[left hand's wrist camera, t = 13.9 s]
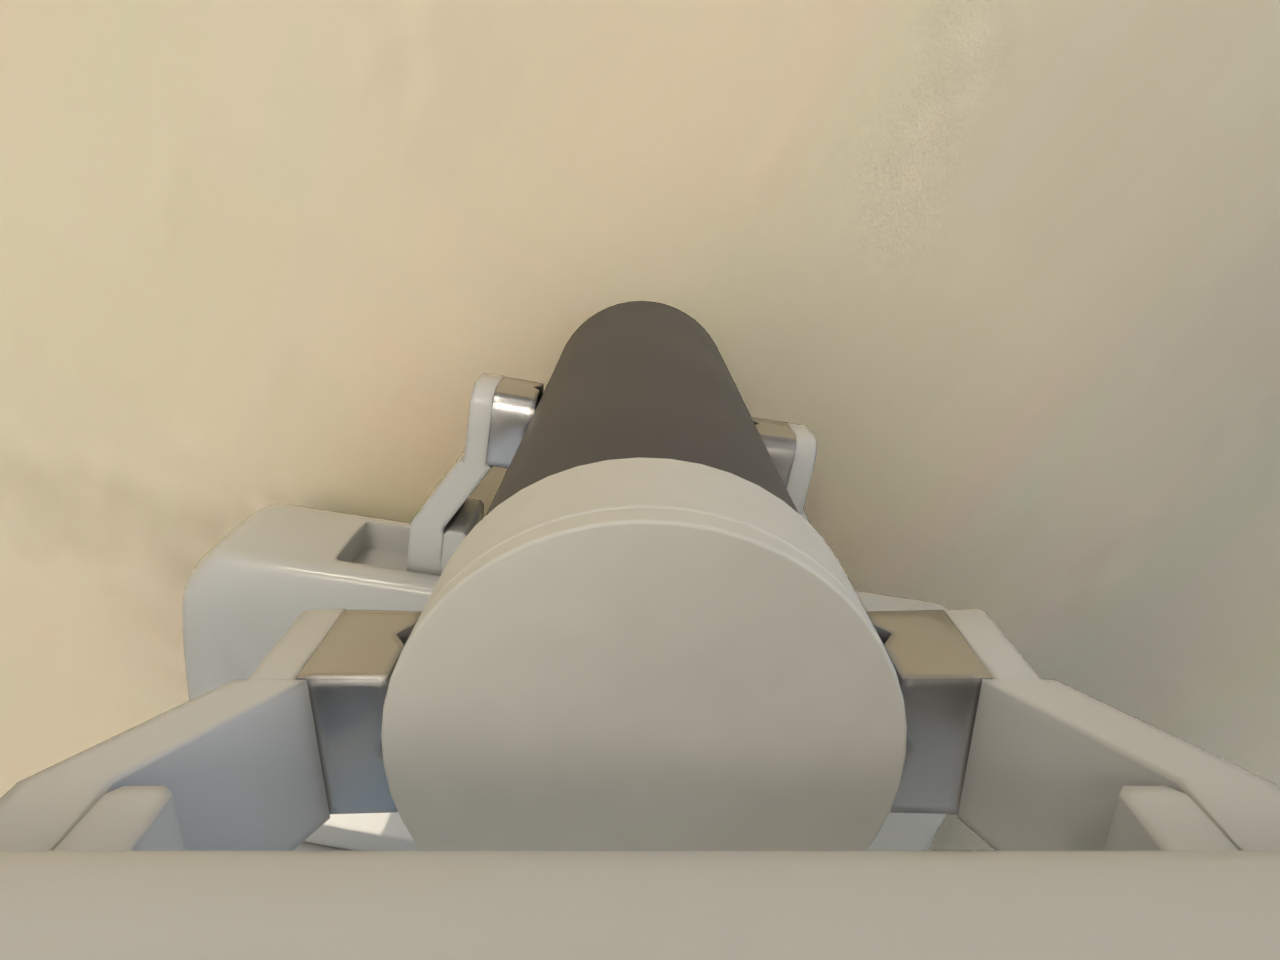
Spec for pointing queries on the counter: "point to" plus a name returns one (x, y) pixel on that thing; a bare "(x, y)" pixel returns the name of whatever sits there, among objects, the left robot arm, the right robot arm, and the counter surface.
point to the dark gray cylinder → (641, 403)
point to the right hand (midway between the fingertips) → (645, 404)
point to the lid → (643, 677)
